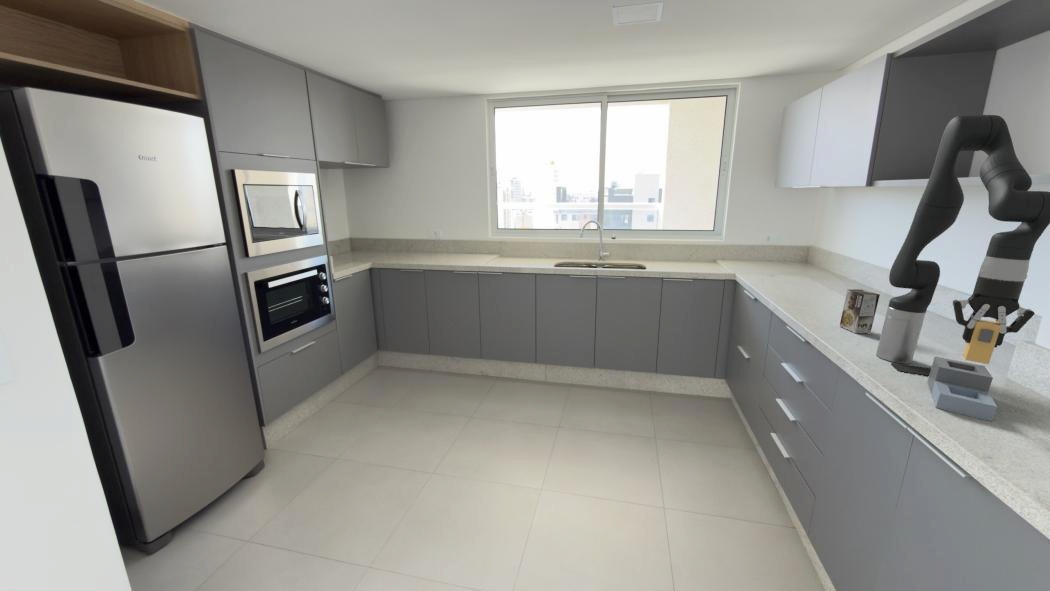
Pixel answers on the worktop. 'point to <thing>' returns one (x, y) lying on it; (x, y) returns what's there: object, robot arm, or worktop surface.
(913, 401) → the worktop surface
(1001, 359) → the worktop surface
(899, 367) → the phone
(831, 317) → the worktop surface
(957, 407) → the socket block
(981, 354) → the plug
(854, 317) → the coffee box
